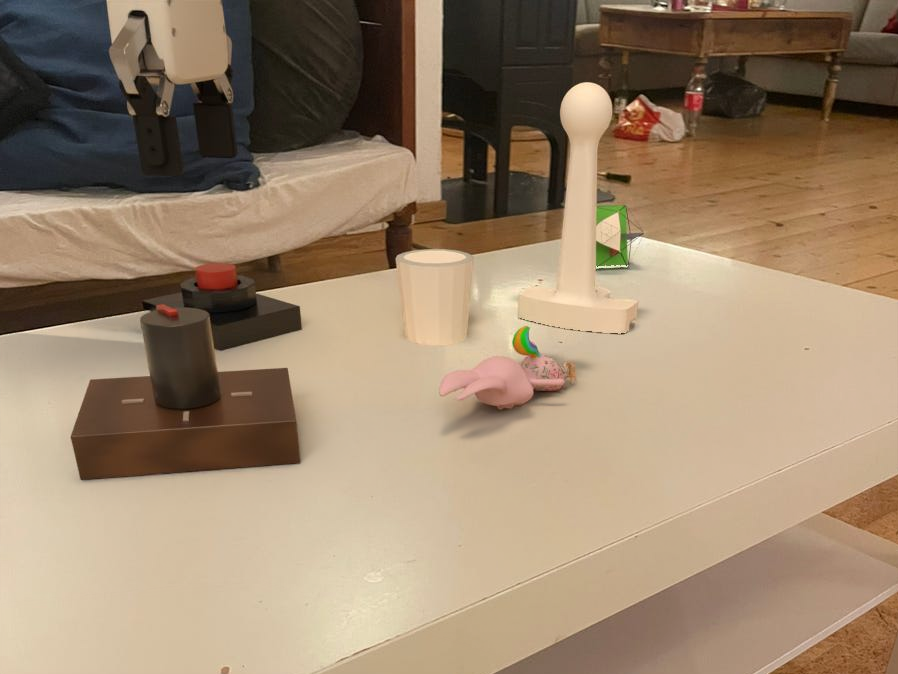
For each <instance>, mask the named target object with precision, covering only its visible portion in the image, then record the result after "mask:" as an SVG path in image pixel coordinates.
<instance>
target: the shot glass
mask: <svg viewBox="0 0 898 674" xmlns="http://www.w3.org/2000/svg"><path fill="white" fill-rule="evenodd" d="M474 257H475V256H473V255H472V254H470V253H468V252H465V251H461V250H455V249H445V248H441V249H440V248H428V249H427V248H426V249H415V250H410V251H405V252H402V253H399V254H397V255H396V257H395V264H396V265H395V267H396V273H397V281H398V289H399V298H400V307H401V313H402V320H403V329H404V336H405V338H406V339H407V341H409V342H411V343H414V344H418V345H425V346H446V345H453V344H457V343H461V342H463V341H465V340H466V339H467V337H468V328H469V327H468V326H469V315H470V305H471V304H470V303H471V293H472V282H473V270H474V260H475V259H474Z"/></svg>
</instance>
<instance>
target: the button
mask: <svg viewBox="0 0 898 674" xmlns="http://www.w3.org/2000/svg"><path fill="white" fill-rule="evenodd" d="M194 271H195V277H196V279H197V286H198V287H199V288H204V289H224V288H230V287H235V286H238V280H237V275H238V274H237V273H238V272H237V266H236V265H235V264H231V263H228V262H227V263H225V262H211V263H205V264H200V265H198V266H196V267H195V268H194Z"/></svg>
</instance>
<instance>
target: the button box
mask: <svg viewBox="0 0 898 674" xmlns="http://www.w3.org/2000/svg"><path fill="white" fill-rule="evenodd" d="M237 280H238V286H235V287H230V288H224V289H204V288H199V287H198V286H197V279H196V276H195V277H192V278H189V279H186V280H185V281H182V282H181V283H180V290H181V292H176V293H171V294H166V295H162V296H157V297H153V298H147V299H143V300H141V303H142V309H143V310H145V311H147V312H152V311H155V310H157V309H156V305H162V304H164V305H166V306H168V307H170V308H196V309H201V310H204V311H206V312H208V313H209V315H210V322H211V329H212V336H213V343H214V350H215V351H216V350H217V351H218V352H222V351H226V350H230V349H234V348H238V347H242V346H245V345H249V344H252V343H257V342H261V341H264V340H269V339H272V338H276V337H279V336H284V335H287V334H291V333H295V332H300V331H302V330H303V326H302V315H301V305H297V304H293V303H291V302H287V301H284V300H281V299H277V298H274V297H270V296H267V295H263V294H260V293H257V291H256V283H255V281H254V279H253V278H251V277H248V276H244V275H238V274H237Z"/></svg>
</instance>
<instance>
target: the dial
mask: <svg viewBox="0 0 898 674" xmlns="http://www.w3.org/2000/svg"><path fill="white" fill-rule="evenodd" d="M156 309H157V310H155V311H152V312H151V311H148V312H146V313H144V314H143V315H141V316H140V317H139V323H140V328H141V334H142V339H143V344H144V351H145V356H146V362H147V367H148V372H149V376H150V379H151V384H152V390H153V395H154V400H155V402H156V404H158V405H159V406H162V407H165V408H171V409H191V408H198V407H203V406H206V405H209V404H212V403H214V402H216V401H217V400H218V399H219V398H220V396H221V392H220V385H219V378H218V372H219V371H218V365H217V358H216V349H214V343H213V336H212V329H211V322H210V315H209V313H208V312H206V311H204V310H201V309H196V308H170V307H168V306H166V305H164V304H162V305H156Z"/></svg>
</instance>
